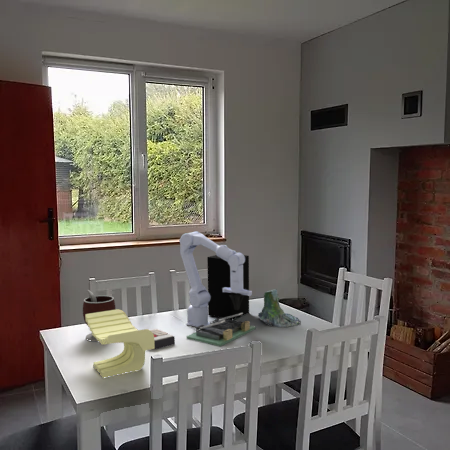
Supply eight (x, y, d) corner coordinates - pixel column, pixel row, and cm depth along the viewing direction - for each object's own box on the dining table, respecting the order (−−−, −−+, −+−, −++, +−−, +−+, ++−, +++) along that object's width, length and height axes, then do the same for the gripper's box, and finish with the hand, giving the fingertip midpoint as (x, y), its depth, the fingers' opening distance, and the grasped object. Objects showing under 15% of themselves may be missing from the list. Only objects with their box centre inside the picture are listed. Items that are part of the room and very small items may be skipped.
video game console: (231, 320, 236) (230, 259, 233) (208, 315, 245) (207, 257, 242) (249, 313, 248) (248, 255, 245) (226, 309, 257) (225, 253, 254)
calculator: (157, 327, 216) (174, 334, 204) (157, 337, 216) (175, 344, 204) (134, 332, 209) (151, 340, 197) (135, 342, 210) (152, 350, 198)
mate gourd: (122, 336, 215) (121, 292, 213) (95, 344, 205) (93, 298, 203) (102, 329, 225) (101, 286, 223) (75, 337, 215) (73, 292, 213)
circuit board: (186, 338, 211) (186, 336, 211) (223, 322, 234) (223, 320, 234) (220, 346, 201) (220, 343, 201) (255, 328, 224) (255, 326, 224)
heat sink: (193, 334, 213) (193, 326, 212) (222, 322, 231) (222, 314, 230) (224, 341, 203) (224, 333, 203) (252, 328, 221) (251, 320, 221)
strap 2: (218, 321, 225) (217, 319, 225) (222, 319, 227) (221, 318, 228) (239, 315, 218) (238, 313, 218) (242, 313, 220) (242, 312, 221)
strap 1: (200, 329, 214) (199, 327, 214) (204, 327, 216) (203, 326, 216) (221, 323, 207) (220, 321, 207) (225, 321, 209) (224, 319, 209)
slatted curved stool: (155, 377, 171) (154, 327, 169) (110, 387, 163) (108, 335, 161) (126, 351, 196) (125, 308, 195) (87, 359, 188) (85, 314, 187)
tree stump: (290, 331, 221) (281, 292, 221) (253, 334, 232) (244, 298, 232) (306, 319, 237) (297, 283, 236) (271, 322, 248) (262, 288, 247)
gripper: (255, 280, 218) (255, 309, 219) (228, 276, 226) (228, 305, 228) (246, 282, 212) (247, 313, 214) (219, 279, 221) (220, 308, 222)
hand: (237, 309), depth 220 cm, fingers closed
